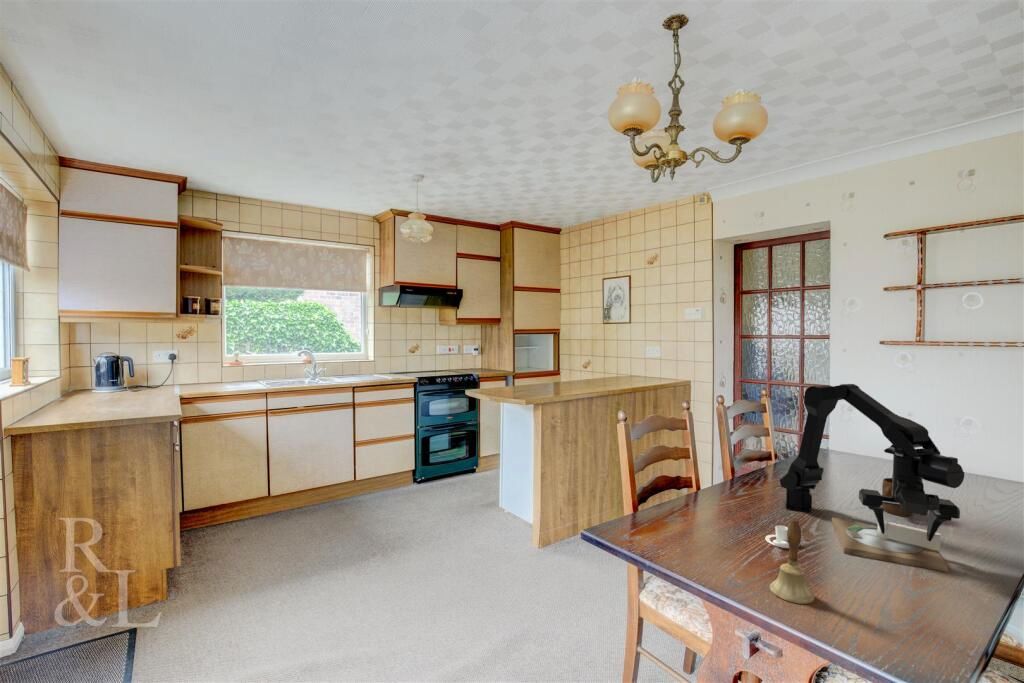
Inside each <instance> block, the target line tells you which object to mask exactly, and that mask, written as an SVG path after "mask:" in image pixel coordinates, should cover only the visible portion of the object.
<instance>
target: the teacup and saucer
mask: <svg viewBox="0 0 1024 683" xmlns="http://www.w3.org/2000/svg"><path fill="white" fill-rule="evenodd" d="M788 527H789V526H788ZM788 527H787V526H785V525H782V524H781V525H775V534H769V535H768V534H767V535H766V536H765V541H766V542H767V543H769V544H771V545H773V546H775V547H778V548H781V549H782V548H784V549H789V543H788V539H787V530H788ZM774 537H775V539H773V540H772V541H771V538H774ZM800 545H801V543H800V544H799V547H801V546H800Z"/></svg>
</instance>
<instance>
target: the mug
mask: <svg viewBox="0 0 1024 683" xmlns="http://www.w3.org/2000/svg"><path fill="white" fill-rule="evenodd" d="M892 484H893V479H892V477H886V478H883V480H882V487H881V495H883V496H890V497H892ZM881 507H882V508H883V509H884V512H886V513H887V514H888V513H889V514H890V515H895V516H901V517H911V516H913V515H914V514H913V513H911V514H908V513H905V512H903V511H902V509H901V506H899V505H892V504H884V503H882V506H881Z"/></svg>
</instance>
